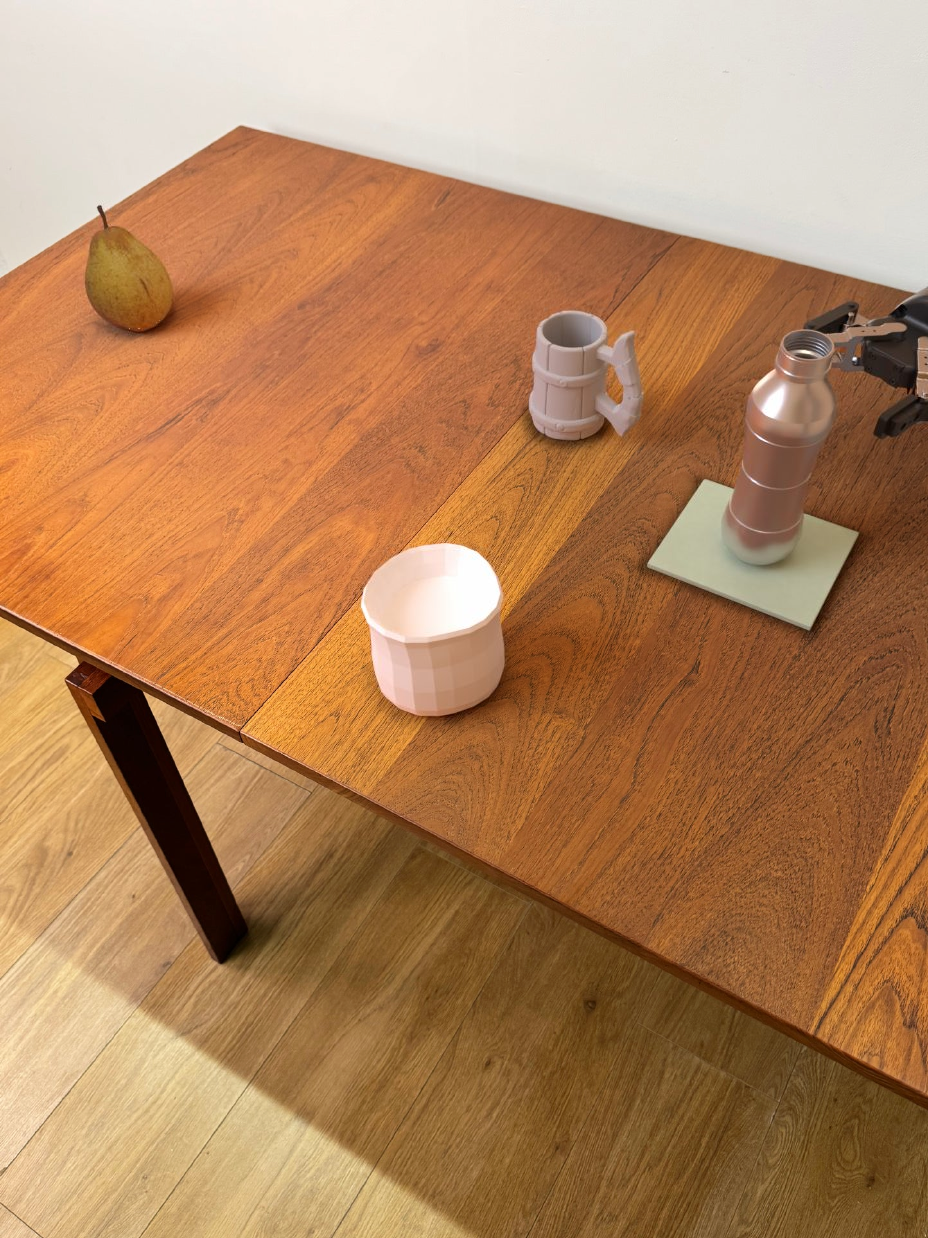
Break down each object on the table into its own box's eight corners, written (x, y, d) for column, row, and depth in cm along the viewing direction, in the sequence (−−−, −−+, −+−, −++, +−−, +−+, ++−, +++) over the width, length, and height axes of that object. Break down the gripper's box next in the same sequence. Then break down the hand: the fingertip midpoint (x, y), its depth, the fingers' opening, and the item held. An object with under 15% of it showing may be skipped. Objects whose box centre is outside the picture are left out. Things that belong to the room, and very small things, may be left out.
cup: (529, 665, 78) (530, 581, 70) (442, 748, 73) (433, 667, 65) (439, 606, 82) (431, 520, 74) (352, 681, 77) (334, 598, 70)
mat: (857, 536, 85) (859, 532, 84) (809, 631, 78) (811, 627, 78) (703, 482, 90) (704, 478, 90) (646, 567, 84) (647, 563, 83)
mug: (560, 383, 100) (564, 275, 91) (659, 430, 95) (674, 320, 86) (512, 421, 97) (511, 313, 87) (612, 472, 91) (622, 362, 82)
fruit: (165, 343, 108) (132, 239, 99) (86, 338, 109) (46, 235, 100) (191, 298, 113) (162, 196, 104) (116, 294, 115) (81, 193, 105)
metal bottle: (806, 534, 84) (869, 331, 69) (779, 587, 81) (839, 384, 66) (734, 509, 87) (779, 307, 72) (704, 559, 83) (745, 357, 68)
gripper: (1020, 396, 82) (896, 485, 76) (875, 322, 89) (752, 397, 83) (1057, 316, 76) (927, 405, 70) (899, 244, 84) (769, 319, 78)
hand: (832, 401), depth 77 cm, fingers open, 8 cm apart
